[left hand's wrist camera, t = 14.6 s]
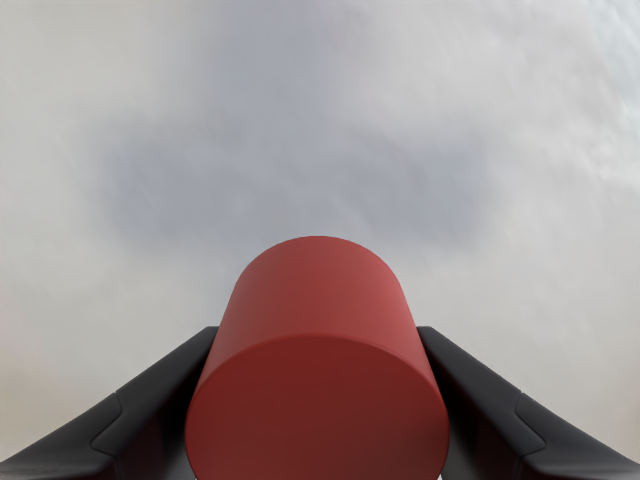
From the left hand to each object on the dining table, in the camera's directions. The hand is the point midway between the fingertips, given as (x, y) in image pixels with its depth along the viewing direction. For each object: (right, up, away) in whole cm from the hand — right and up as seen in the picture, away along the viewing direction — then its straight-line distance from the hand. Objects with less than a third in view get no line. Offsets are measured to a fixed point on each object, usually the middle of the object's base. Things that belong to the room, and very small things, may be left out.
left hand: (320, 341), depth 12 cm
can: (0, 0, +1) cm, 1 cm away
